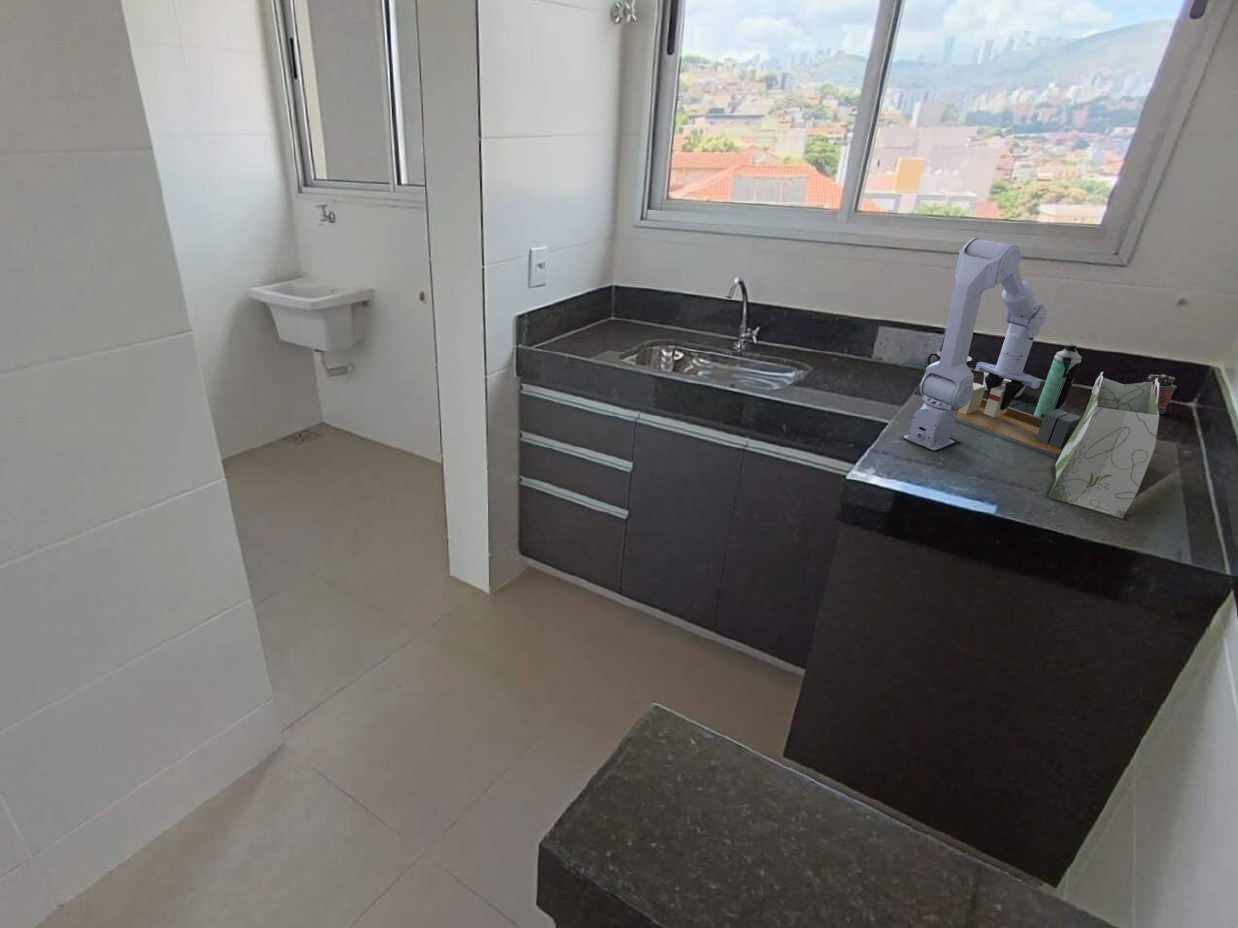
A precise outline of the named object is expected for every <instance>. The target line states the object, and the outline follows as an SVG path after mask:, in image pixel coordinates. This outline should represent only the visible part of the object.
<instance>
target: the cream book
mask: <svg viewBox="0 0 1238 928" xmlns="http://www.w3.org/2000/svg"><path fill="white" fill-rule="evenodd" d="M1004 393H1005V385H1004V384H1003V385H1000V386H997V387H994V388H992V389H991V391H990V394H989V397H988V396H987V400H988V401H987V404H986V407H985V410H984V414H987V415H989V416H992V417H995V416H998V415H1000V414H1003V413H1006V411H1007V409H1005V410H1000V407H1001V403H1002V400H1003V397H1004ZM1008 407H1009V406H1008ZM1008 407H1007V408H1008Z"/></svg>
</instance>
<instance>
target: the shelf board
mask: <svg viewBox="0 0 1238 928" xmlns="http://www.w3.org/2000/svg"><path fill="white" fill-rule="evenodd" d="M987 401H988V398H987V399H986V398H984V397H983V398H982V401H981V404H980V407H979V410H978V411H975V412H972V413H969V414H967V415H966V414H963V413H960V412H958V413H957V416H956V419H959V420H962V421H964V422H967V423H970V424H972V425H975V426H978V427H981V428H984V429H986V430H989V431H992V432H994V433H997V434H1000V435H1003V436H1005V437H1007V438H1010V439H1013V440H1017V441H1018V442H1022V443H1024V444H1027V445H1030V446H1033V447H1034V448H1038V449H1040V450H1044V451H1046V452H1049V453H1052V454H1054V455H1057V456H1058V455H1061V453H1062V451H1063V449H1064V447H1062V448H1058V447H1055V446H1052V445H1049V443H1048V444H1046V443H1044V442H1041V441H1038V440H1036V437H1037V435H1038V432H1039V429H1040V426H1041V424H1042V421H1043V418H1041V417H1038V416H1035V415H1034V414H1031V413H1029V412H1025V411H1022V410H1020V409H1016V408H1014V407H1010V406H1008V408H1007V411H1006V413H1003V414H1000V415H998V416H995V417H992V416H989V415H987V414H984V410H985V407H986V404H987Z"/></svg>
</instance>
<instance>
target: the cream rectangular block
mask: <svg viewBox="0 0 1238 928" xmlns="http://www.w3.org/2000/svg"><path fill="white" fill-rule="evenodd" d="M974 383H975V384H973V389H974V392H973V396H972V398H971V400H970V401H969V403H968V404H967V405H966V406H964V407H963V408H961V409H959V410H958V412H960V413H963V414H966V415H967V414H969V413H972V412H975V411H978V410H979V407H980V404H981V401H982V398H984V394H985V391H986V390H985V388H986V386H984V385H983V384H981V383H978V382H974Z"/></svg>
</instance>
